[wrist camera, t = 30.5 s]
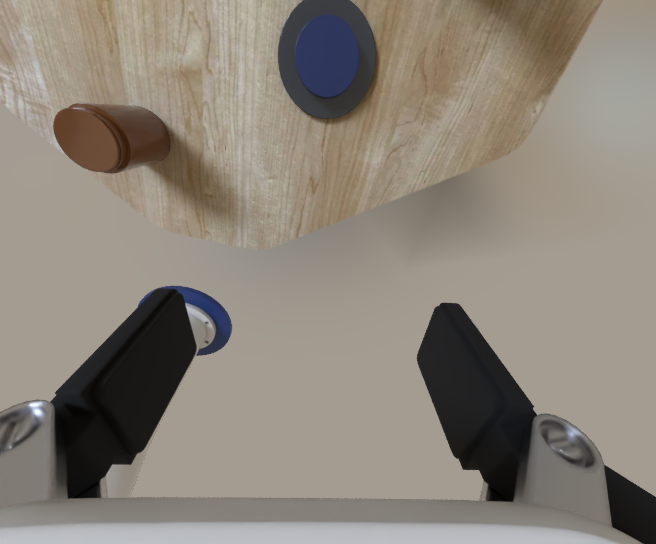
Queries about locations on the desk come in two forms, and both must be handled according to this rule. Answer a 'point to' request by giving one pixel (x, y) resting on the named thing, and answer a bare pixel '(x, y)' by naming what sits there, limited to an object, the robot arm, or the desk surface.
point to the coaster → (314, 4)
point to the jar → (111, 136)
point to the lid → (326, 56)
